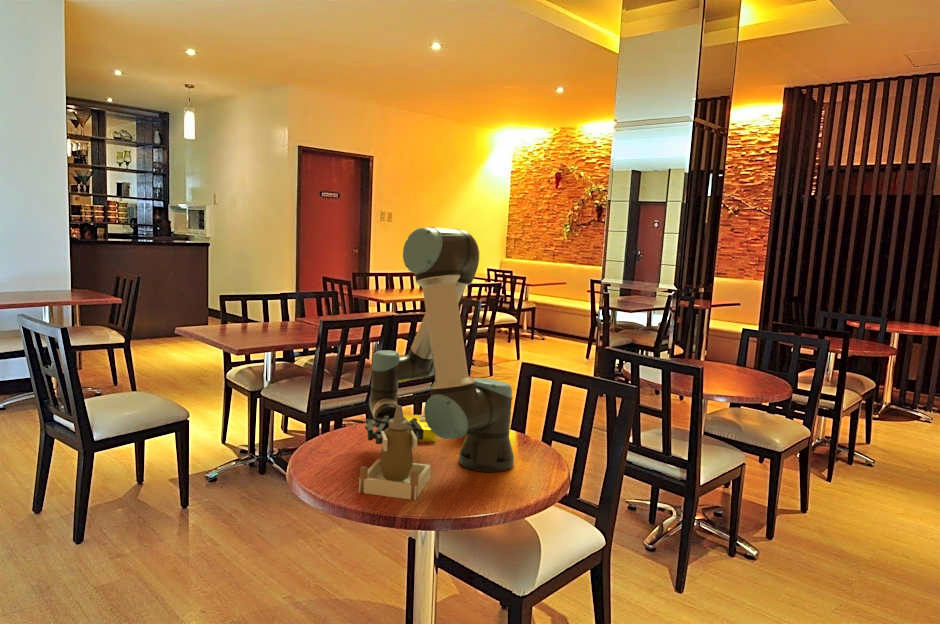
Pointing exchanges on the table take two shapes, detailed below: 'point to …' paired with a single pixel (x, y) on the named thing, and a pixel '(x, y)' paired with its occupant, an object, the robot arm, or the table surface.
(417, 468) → the tray
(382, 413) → the robot arm
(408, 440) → the squeeze bottle
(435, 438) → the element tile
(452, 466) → the table surface
